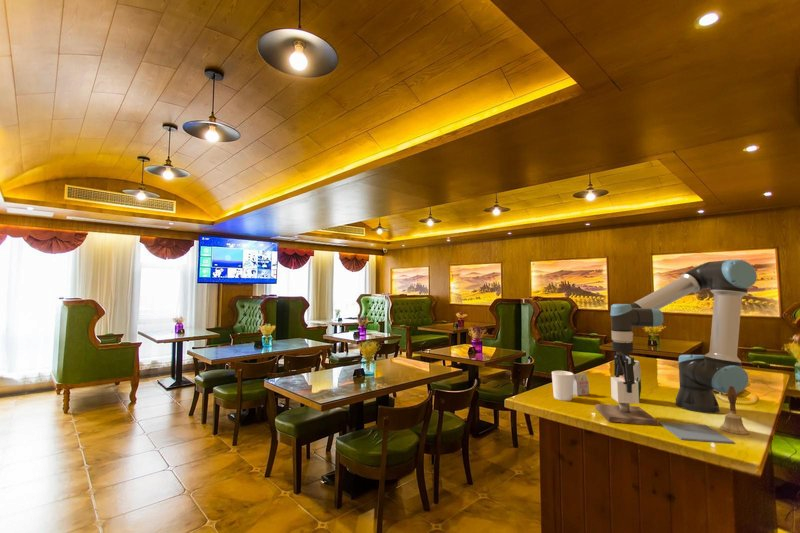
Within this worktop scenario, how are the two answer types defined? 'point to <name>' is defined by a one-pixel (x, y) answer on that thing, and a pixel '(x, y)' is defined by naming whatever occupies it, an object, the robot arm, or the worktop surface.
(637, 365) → the milk carton
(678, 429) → the mat
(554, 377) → the candle holder
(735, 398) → the hand bell
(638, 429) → the worktop surface
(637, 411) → the post stand
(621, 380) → the white cubic block
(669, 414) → the worktop surface
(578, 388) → the tea bag
